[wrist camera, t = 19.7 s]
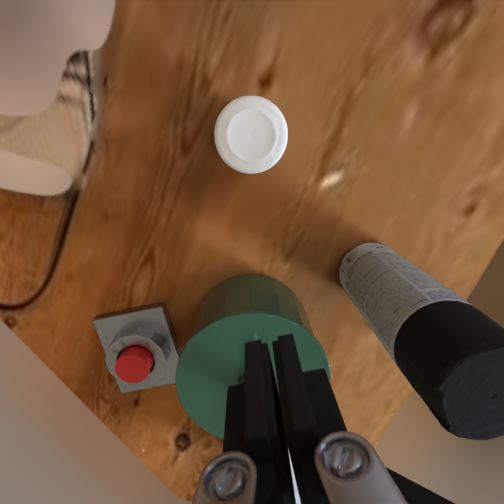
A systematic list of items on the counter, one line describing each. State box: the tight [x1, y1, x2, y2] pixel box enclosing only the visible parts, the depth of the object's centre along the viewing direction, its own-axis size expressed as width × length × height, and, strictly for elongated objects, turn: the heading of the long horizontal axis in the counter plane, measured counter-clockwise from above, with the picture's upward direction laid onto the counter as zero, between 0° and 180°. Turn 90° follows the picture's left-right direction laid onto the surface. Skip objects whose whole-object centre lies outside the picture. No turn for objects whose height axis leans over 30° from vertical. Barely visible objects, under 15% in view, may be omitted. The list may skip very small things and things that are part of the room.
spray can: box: [339, 243, 504, 440], centre depth 28 cm, size 7×7×20 cm
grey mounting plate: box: [93, 302, 181, 393], centre depth 38 cm, size 10×8×3 cm
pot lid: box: [175, 311, 331, 439], centre depth 27 cm, size 14×14×7 cm
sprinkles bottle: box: [214, 96, 288, 174], centre depth 26 cm, size 5×5×14 cm
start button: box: [115, 346, 153, 383], centre depth 36 cm, size 4×4×2 cm
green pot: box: [190, 275, 313, 339], centre depth 34 cm, size 13×13×10 cm
